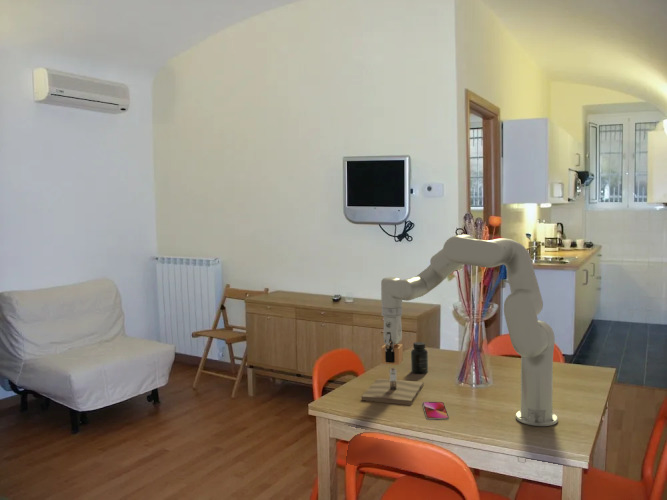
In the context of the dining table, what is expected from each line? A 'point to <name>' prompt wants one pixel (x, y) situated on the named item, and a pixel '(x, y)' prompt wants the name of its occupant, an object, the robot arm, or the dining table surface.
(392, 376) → the post
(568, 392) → the dining table surface
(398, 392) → the board
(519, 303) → the robot arm
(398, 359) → the hollow wooden cube
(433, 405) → the smartphone
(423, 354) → the supplement bottle
